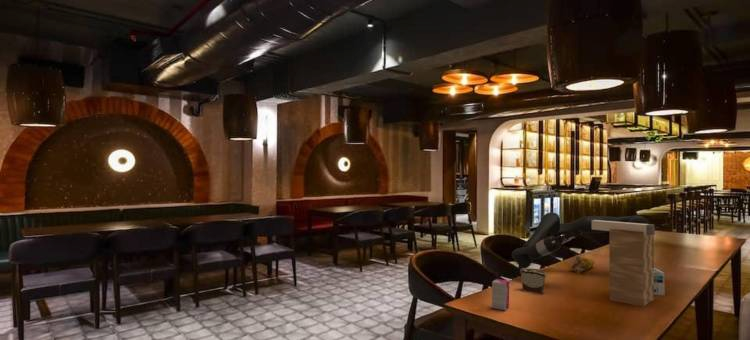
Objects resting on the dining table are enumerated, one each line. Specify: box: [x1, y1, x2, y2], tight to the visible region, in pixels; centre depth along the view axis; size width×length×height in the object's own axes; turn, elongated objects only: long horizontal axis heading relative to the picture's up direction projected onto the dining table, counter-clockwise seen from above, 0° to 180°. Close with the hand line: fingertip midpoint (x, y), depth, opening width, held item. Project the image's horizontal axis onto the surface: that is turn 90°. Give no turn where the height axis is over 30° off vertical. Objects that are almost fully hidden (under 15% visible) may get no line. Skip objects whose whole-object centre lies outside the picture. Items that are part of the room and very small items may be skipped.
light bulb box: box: [654, 267, 666, 297], centre depth 202 cm, size 11×7×11 cm, turn 168°
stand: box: [608, 229, 655, 307], centre depth 191 cm, size 15×13×31 cm
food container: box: [519, 267, 547, 295], centre depth 205 cm, size 12×6×10 cm, turn 47°
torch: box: [569, 254, 595, 274], centre depth 248 cm, size 8×8×25 cm
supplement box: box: [491, 278, 510, 312], centre depth 179 cm, size 6×6×12 cm
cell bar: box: [592, 220, 656, 235], centre depth 191 cm, size 4×24×4 cm, turn 43°
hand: (576, 232), depth 205 cm, fingers open, 8 cm apart
